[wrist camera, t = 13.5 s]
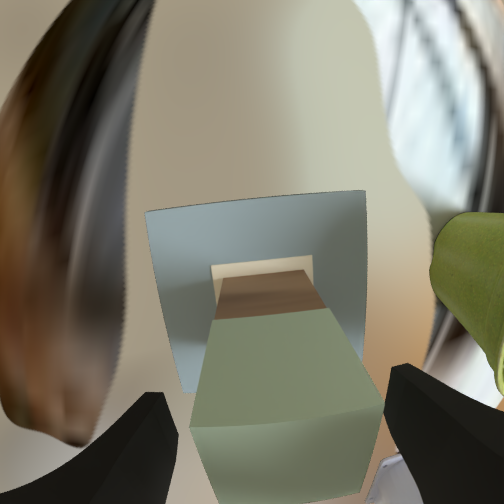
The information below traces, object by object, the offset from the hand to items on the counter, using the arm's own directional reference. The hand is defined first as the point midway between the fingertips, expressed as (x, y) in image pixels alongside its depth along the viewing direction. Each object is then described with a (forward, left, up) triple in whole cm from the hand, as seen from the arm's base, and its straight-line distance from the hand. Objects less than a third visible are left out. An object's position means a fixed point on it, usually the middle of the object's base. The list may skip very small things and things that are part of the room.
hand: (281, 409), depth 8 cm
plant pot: (+1, -13, -8) cm, 15 cm away
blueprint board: (0, 0, -8) cm, 8 cm away
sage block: (0, 0, -2) cm, 2 cm away
